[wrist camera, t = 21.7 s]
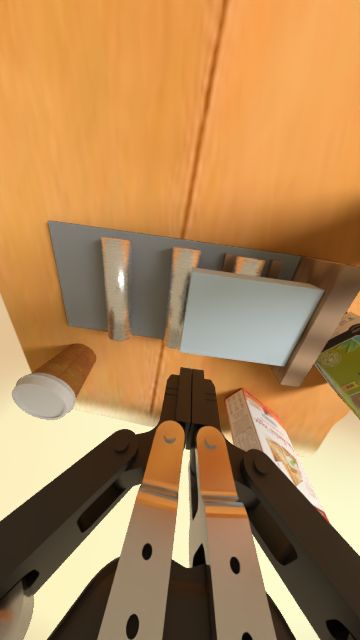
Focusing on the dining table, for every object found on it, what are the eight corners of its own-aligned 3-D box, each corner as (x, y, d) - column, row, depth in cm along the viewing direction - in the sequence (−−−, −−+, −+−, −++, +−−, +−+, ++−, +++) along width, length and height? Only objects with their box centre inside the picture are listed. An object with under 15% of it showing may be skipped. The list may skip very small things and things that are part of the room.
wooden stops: (225, 245, 27) (240, 251, 19) (318, 258, 27) (372, 269, 19) (203, 341, 35) (207, 374, 27) (274, 351, 35) (299, 387, 27)
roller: (238, 350, 32) (227, 359, 29) (219, 340, 34) (208, 347, 32) (269, 260, 25) (259, 261, 22) (243, 255, 27) (231, 255, 24)
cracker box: (279, 414, 43) (345, 551, 25) (259, 424, 46) (306, 557, 27) (243, 386, 40) (288, 521, 21) (223, 398, 42) (248, 531, 23)
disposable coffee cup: (79, 376, 41) (40, 426, 31) (51, 345, 38) (-5, 390, 27) (111, 364, 39) (81, 414, 28) (85, 331, 35) (39, 374, 25)
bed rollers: (108, 236, 26) (95, 237, 23) (200, 249, 26) (202, 252, 23) (113, 327, 33) (104, 339, 30) (185, 337, 33) (185, 350, 30)
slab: (192, 267, 23) (192, 271, 21) (309, 283, 23) (324, 290, 21) (180, 340, 29) (179, 352, 26) (275, 354, 29) (284, 366, 26)
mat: (52, 220, 26) (47, 220, 26) (297, 255, 27) (301, 256, 26) (71, 323, 35) (68, 325, 34) (258, 349, 35) (260, 352, 34)
